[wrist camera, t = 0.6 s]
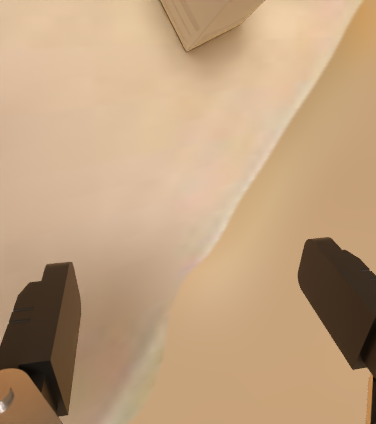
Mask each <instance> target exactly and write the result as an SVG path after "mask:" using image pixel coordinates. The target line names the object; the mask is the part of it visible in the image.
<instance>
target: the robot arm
mask: <svg viewBox="0 0 376 424" xmlns="http://www.w3.org/2000/svg"><path fill="white" fill-rule="evenodd" d="M298 281H299V285H300V288H301V290H302V291H303V293H304V294H305V296H306V298H307V299H308V301H309V302H310V304H311V305H312V307H313V309H314V310H315V312H316V313H317V315H318V316H319V318H320V320H321V321H322V322H323V324H324V326H325V327H326V329H327V330H328V332H329V334H330V335H331V337H332V338H333V340H334V341H335V343H336V344H337V346H338V347H339V349H340V350H341V352H342V354H343V355H344V357H345V359H346V360H347V362H348V363H349V365H350V366H351V368H352V369H353V370H354V369H360V368H366V367H367V368H368V369H369V370H370V372H371V375H370V377H369V383H368V398H367V414H366V424H376V275H375V274H374V273H373V272H372V271H369V268H368V267H367V266H366V265H365V264H364V263H363V262H362V261H361V260H360V259H359V258H358V257H356V256H354V255H353V254H351V253H350V252H348V251H346V250H341V248H340V247H339V246H338V245H337V244H336V243H335V242H334V241H333V240H332V239H331V238H329V237H326V238H316V239H308V240H307V241H306V242H305V245H304V249H303V253H302V257H301V262H300V267H299V270H298ZM80 317H81V301H80V294H79V290H78V285H77V280H76V276H75V271H74V267H73V264H72V262H65V263H55V264H47V265H46V267H45V270H44V274H43V277H42V281H39V282H30V283H29V284H28V285H27V286H26V287H25V288H24V289H23V291H22V292H21V293H20V294H19V295H18V297H17V300H16V303H15V306H14V309H13V312H12V314H11V317H10V320H9V324H8V326H7V329H6V331H5V334H4V337H3V340H2V343H1V346H0V424H63V423H62V422H61V421H60V419H59V418H58V417H59V416H65V415H68V411H69V403H70V395H71V388H72V380H73V372H74V364H75V356H76V348H77V341H78V333H79V325H80Z"/></svg>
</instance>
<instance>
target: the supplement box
mask: <svg viewBox="0 0 376 424" xmlns="http://www.w3.org/2000/svg"><path fill="white" fill-rule="evenodd" d="M160 1H161V3H162V5H163V7H164V9H165V11H166V13H167V15H168V17H169V19H170V21H171V23H172V25H173V27H174V29H175V31H176V32H177V34H178V36H179V38H180V40H181V42H182V44H183V46H184V48H185V50H186V52H188V51H190V50H192V49H193V48H195V47H197V46H199V45H201V44H203V43H205V42H207V41H209V40H211V39H213V38H215V37H217V36H219V35H221V34H223V33H225V32H227V31H229V30H231V29H233V28H234V27H236V26H238V25H240V24H242V23H243V22H244V21H245V20H246V19H247V18H248V17H249V16H250V15H251V14H252V13H253V12H254V11H255V10H256V9H257V8H258V7H259V6H260V5H261V4H262V3H263V2H264V1H265V0H160Z"/></svg>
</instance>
